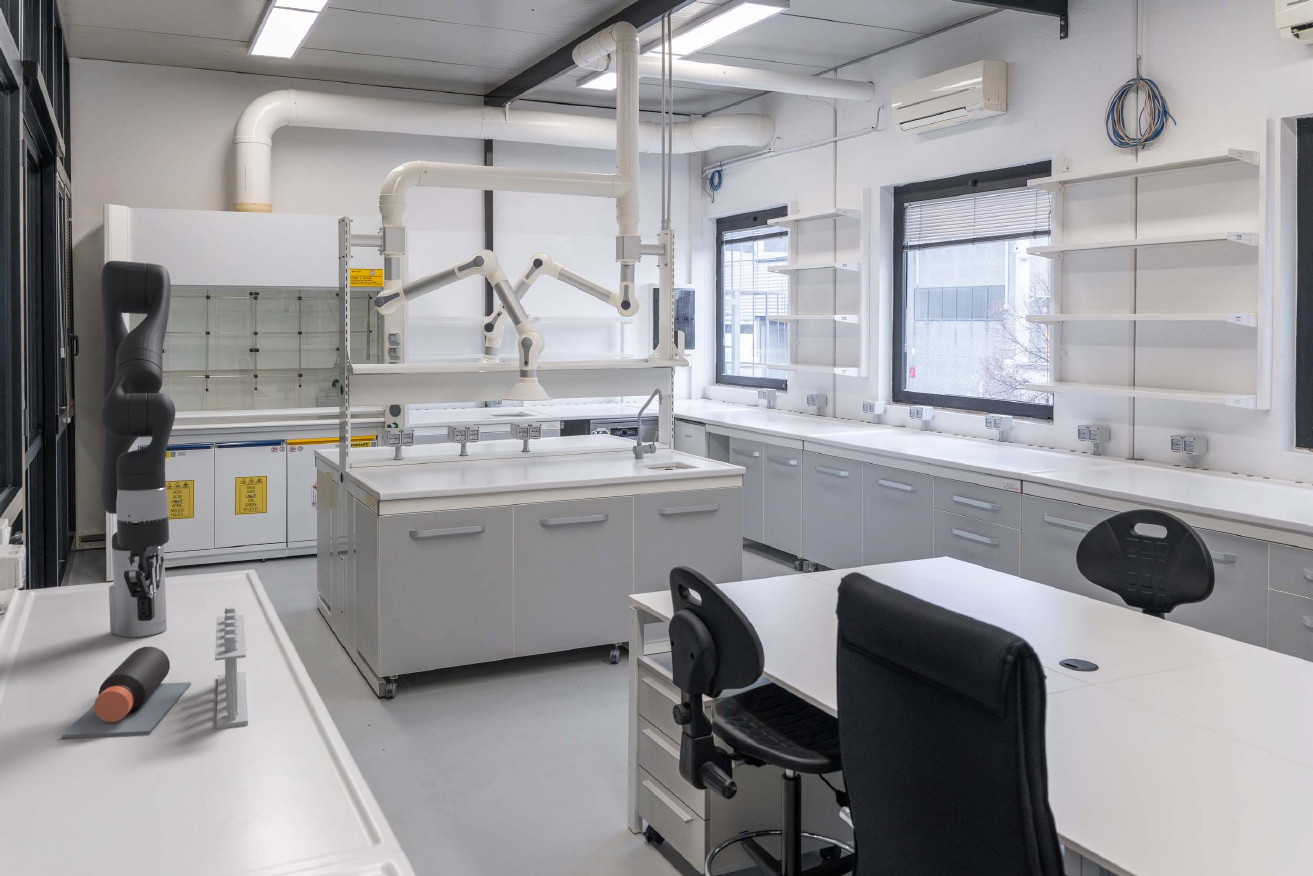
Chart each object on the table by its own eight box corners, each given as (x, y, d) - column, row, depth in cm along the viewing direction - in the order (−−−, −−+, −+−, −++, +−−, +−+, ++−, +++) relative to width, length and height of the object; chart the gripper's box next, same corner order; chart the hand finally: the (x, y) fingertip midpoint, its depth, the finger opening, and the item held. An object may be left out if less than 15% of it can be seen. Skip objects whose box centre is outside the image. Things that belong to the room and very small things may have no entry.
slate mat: (114, 688, 170) (114, 685, 170) (190, 685, 172) (190, 682, 172) (61, 738, 148) (61, 735, 148) (149, 734, 150) (149, 730, 150)
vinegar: (123, 650, 170) (82, 690, 151) (166, 641, 172) (130, 680, 152) (131, 688, 171) (91, 733, 152) (174, 680, 173) (140, 723, 153)
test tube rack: (248, 725, 154) (246, 640, 153) (216, 729, 153) (214, 643, 151) (245, 676, 177) (243, 601, 176) (218, 679, 176) (215, 604, 174)
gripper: (131, 509, 171) (135, 610, 173) (103, 522, 158) (107, 631, 160) (178, 508, 173) (182, 608, 174) (154, 521, 160) (158, 629, 161)
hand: (146, 619), depth 167 cm, fingers closed
